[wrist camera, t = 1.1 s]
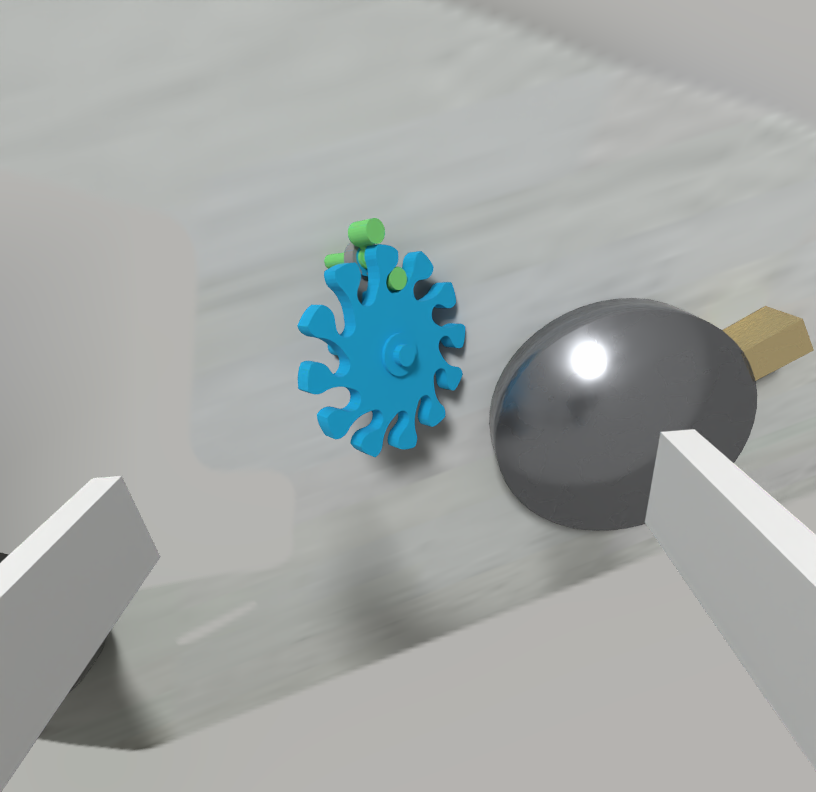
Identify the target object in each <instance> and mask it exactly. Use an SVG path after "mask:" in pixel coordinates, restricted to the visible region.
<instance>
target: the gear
mask: <svg viewBox="0 0 816 792" xmlns="http://www.w3.org/2000/svg"><path fill="white" fill-rule="evenodd" d="M384 236H385V229H384V226H383V224H382V222H381V221H380V220H379V219H377V218H372V219H367V220H362V221H358V222H354V223H352V224H351V225H350V226H349V229H348V237H349V240H350V242H351V243H350V244H348V246H347V247H346V249H345V252H344V253H338V254H331V255H327V256H326V257H325V260H324V262H325V266H326V267H327V268H328V270H326V271H324V278H325V281H326V284H327V285H328V287H329V288H330V289H331V290H332V291H333V292H334V293H335V294H336V296H337V297H338V299H339V301H340V303H341V306H342V309H343V314H344V321H345V328H344V331H343V332H342V333H341V334H340V335H339V334H338V332H337V330H336V325H335V318H334V315H333V313H332V311H331V310H330V309H329V308H328V307H326V306H324V305H311V306H309V307H308V308H307V309H306V311H305V312H304V313H303V315H302V317H301V319H300V321H299V323H298V325H297V326H298V329H299V330H300V332H301V333H303V334H304V335H306V336H310V337H316V338H319V339H321V340H323V341H325V342H326V343H327V344H328V350H329V352H330V353H331V354H333V355H337V356H338V358H339V361H340V365H339V368H338V370H337V371H336V373H334V374H332V372H331V371H330V370H329V368H328V367H327V366H326V365H324V364H322V363H318V362H313V361H304V362H302V363H301V364H300V367H299V372H298V389H300V390H302V391H305V392H308V393H312V394H320V393H323V392H324V391H326V390H328V389H330V388H333V387H346V388H347V389H348V390H349V391H350V395H351V397H350V402H349V404H348V405H347V406H346V407H345V408H342V409H338V408H334V407H325V408H323V409H321V410H320V411H319V412H318V414H317V419H318V422H319V425H320V427H321V429H322V431H323V432H324V434H325V435H326V436H329V437H331V438H334V439H340V438H342V437H343V436H344V435H345V434H346V433H347V432H348V430H349V428H350V427H351V425H352V424H353V423H354V422H355V421H356V420H357V419H358V418H359V417H360V416H361V415H363V414H365V413H367V412H369V411H372V413H373V417H372V421H371V422H370V424H369V425H368V426H366V427H364V428H361V429H359V430H357V431H356V432H355V433H354V434H353V436H352V439H351V445H352V446H353V447H354V448H355V449H357V450H359V451H361V452H363V453H366V454H368V455H371V456H373V457H376V456H377V455H378V454H379V453H380V451H381V449H382V445H383V438H384V434H385V432H386V429H387V427H388V425H389V423H390V422H391V421H392V419H393V418H394V417H395V415H396V414H397V413H398V420H397V422H396V424H395V425H394V426H393V428H392V429H391V430H390V432H389V435H388V444H389V445H391V446H394V447H396V448H399V449H410V448H414V447H415V445H416V443H417V434H416V431H415V413H416V409H417V405H418V402H419V400H420V398H421V403H420V407H419V411H418V420H419V422H420V423H421V424H424V425H427V426H431V427H433V426H435V425H437V424H438V423H439V422H441V421H442V419H443V418H444V417H445V409H444V407H443V406H442V405H441V404H440V402H439V401H438V399H437V397H436V394H435V389H434V374H435V372H436V381H437V385H438V386H439V387H440V388H443V389H448V390H455V389H456V388H457V386H458V384H459V382H460V380H461V377H462V375H463V373H462V371H461V369H460V368H459V367H454V366H451V365H449V364H448V363H447V362H446V361H445V360H444V358H443V357H442V355H441V353H440V351H439V341H440V340H441V342H442V344H443V345H444V346H445V347H452V348H461V347H463V344H464V339H465V326H464V325H463V324H453V323H448V324H445V325H444V326H442V327H441V326H439V325H437V324H436V323H434V321H433V319H432V310H433V308H434V307H435V308H452V307H453V306H454V305H455V304H456V297H455V292H454V288H453V285H452V283H451V282H443V283H435V284H433V286H432V287H431V289H430V290H429V292H428V293H427V294H426V295H425V296H424V297H423V298H421V299H419V300H416V298H415V297H414V293H413V288H414V285H415V283H416V282H417V281H419V280H423V279H427V278H429V277H430V276H431V274H432V272H433V265H432V263H431V261H430V260H429V259H428V257H427V256H426V255H425V254H424V253H423V252H422V251H419V252H410V253H408V254H407V255H406V256H405V258H404V260H403V266H402V268H401V267H396V265H397V263H398V251H397V250H396V249H395V248H393V247H391V246H388V245H382V244H379V243H381V242H382V241H383V239H384ZM375 244H377V245H375ZM389 290H390V291H389Z"/></svg>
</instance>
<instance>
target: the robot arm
mask: <svg viewBox="0 0 816 792" xmlns="http://www.w3.org/2000/svg"><path fill="white" fill-rule="evenodd" d="M645 524H646V525H647V527H648V528H649V530H650V531H651V532H652V534H653V535H654V537H655V538H656V540H657V541H658V543H659V544H660V546H661V547H662V548H663V550H664V551H665V553H666V554H667V556H668V557H669V559H670V560H671V561H672V563H673V565H674V566H675V567H676V569H677V570H678V572H679V573H680V575H681V576H682V578H683V579H684V581H685V582H686V583H687V585H688V586H689V588H690V589H691V591H692V592H693V594H694V595H695V597H696V598H697V599H698V601H699V602H700V604H701V605H702V607H703V608H704V609H705V611H706V612H707V614H708V615H709V617H710V618H711V620H712V621H713V623H714V624H715V626H716V627H717V629H718V630H719V632H720V633H721V634H722V636H723V637H724V639H725V640H726V642H727V643H728V645H729V646H730V647H731V649H732V650H733V652H734V653H735V655H736V656H737V658H738V659H739V661H740V662H741V664H742V665H743V666H744V668H745V669H746V671H747V672H748V674H749V675H750V677H751V678H752V680H753V681H754V682H755V684H756V685H757V687H758V688H759V690H760V691H761V692H762V694H763V696H764V697H765V698H766V700H767V701H768V703H769V704H770V706H771V707H772V708H773V710H774V712H775V713H776V714H777V716H778V717H779V719H780V720H781V722H782V723H783V725H784V726H785V728H786V729H787V730H788V732H789V733H790V735H791V736H792V738H793V739H794V741H795V742H796V744H797V745H798V747H799V748H800V749H801V751H802V752H803V754H804V755H805V757H806V758H807V760H808V761H809V762H810V764H811V765H812V767H813V768H814V770H815V771H816V535H815V534H814V533H813V532H812V531H811V530H810V529H808V528H807V527H806V526H805V525H804V524H803V523H802V522H801V521H799V520H798V519H797V518H796V517H795V516H793V515H792V514H791V513H790V512H789V511H788V510H787V509H786V508H784V507H783V506H782V505H781V504H780V503H779V502H778V501H776V500H775V499H774V498H773V497H772V496H771V495H769V494H768V493H767V492H766V491H765V490H764V489H763V488H761V487H760V486H759V485H758V484H757V483H756V482H754V481H753V480H752V479H751V478H750V477H749V476H748V475H746V474H745V473H744V472H743V471H742V470H741V469H740V468H738V467H737V466H736V465H735V464H734V463H733V462H731V461H730V460H729V459H728V458H727V457H726V456H725V455H723V454H722V453H721V452H720V451H719V450H718V449H716V448H715V447H714V446H713V445H712V444H711V443H710V442H708V441H707V440H706V439H705V438H704V437H703V436H702V435H700V434H699V433H698V432H697V431H696V430H695V429H691V430H679V431H666V432H660V438H659V444H658V449H657V455H656V461H655V467H654V472H653V478H652V484H651V490H650V495H649V501H648V507H647V512H646V518H645ZM159 558H160V555H159V553H158V551H157V549H156V547H155V545H154V543H153V540H152V539H151V536H150V534H149V532H148V530H147V528H146V526H145V524H144V522H143V519H142V518H141V515H140V513H139V511H138V509H137V507H136V505H135V503H134V501H133V499H132V496H131V494H130V492H129V491H128V488H127V486H126V484H125V482H124V480H123V478H122V476H116V477H103V478H92V479H91V480H90V481H89V482H88V483H87V484H86V485H85V486H84V487H82V489H80V490H79V491H78V492H77V493H76V494H75V495H74V496H73V497H72V498H70V499H69V500H68V501H67V502H66V503H65V504H64V505H63V506H62V507H61V508H60V509H58V511H57V512H55V513H54V514H53V515H52V516H51V517H50V518H49V519H48V520H47V521H45V522H44V523H43V524H42V525H41V526H40V527H39V528H38V529H37V530H36V531H35V532H33V533H32V534H31V535H30V536H29V537H28V538H27V539H26V540H25V541H24V542H23V543H21V544H20V545H19V546H18V547H17V548H16V549H15V550H14V551H13V552H12V553H11V554H9V555H8V554H4V553H0V792H2V790H3V788H4V787H5V786H6V784H7V783H8V781H9V779H10V778H11V777H12V775H13V774H14V772H15V771H16V769H17V768H18V766H19V765H20V763H21V762H22V761H23V759H24V758H25V756H26V755H27V753H28V752H29V750H30V748H31V747H32V746H33V744H34V743H35V741H36V740H37V738H38V737H39V735H40V734H41V732H42V731H43V730H44V728H45V727H46V725H47V724H48V722H49V721H50V719H51V718H52V716H53V715H54V713H55V712H56V710H57V709H58V707H59V706H60V704H61V703H62V701H63V700H64V699H65V697H66V696H67V694H68V693H69V692H70V691H72V690H73V689H74V688H75V687H76V686H77V685H78V684H79V683H80V682H81V681H82V679H83V678H84V677H85V675H86V674H87V672H88V671H89V669H90V668H91V666H92V665H93V663H94V662H95V660H96V659H97V657H98V656H99V654H100V653H101V651H102V649H103V645H104V639H105V638H106V637H107V635H108V634H109V632H110V631H111V629H112V628H113V626H114V625H115V623H116V622H117V620H118V619H119V617H120V616H121V614H122V613H123V611H124V610H125V608H126V607H127V606H128V604H129V603H130V601H131V600H132V598H133V597H134V595H135V594H136V592H137V591H138V589H139V588H140V586H141V585H142V583H143V582H144V580H145V579H146V577H147V576H148V574H149V573H150V571H151V570H152V569H153V567H154V566H155V564H156V563H157V561H158V560H159Z"/></svg>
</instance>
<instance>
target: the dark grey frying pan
mask: <svg viewBox="0 0 816 792" xmlns="http://www.w3.org/2000/svg"><path fill="white" fill-rule="evenodd" d="M811 351H813V347H812V344H811V341H810V338H809V335H808V332H807V330H806V327H805V324H804V321H803V319H802V318H799V317H796V316H793V315H790V314H787V313H784V312H781V311H778V310H776V309H773V308H770V307H767V306H765V307H763V308H761V309H759V310H758V311H756V312H754V313H752V314H750V315H749V316H747V317H745V318H743V319H742V320H740V321H738V322H736V323H735V324H733V325H731V326H729V327H728V328H726V329H724V330H721V329H719V328H717V327H716V326H714V325H712V324H711V323H709V322H707V321H705V320H703V319H701V318H698V317H696V316H694V315H692V314H690V313H688V312H686V311H683V310H681V309H679V308H676V307H674V306H671V305H669V304H666V303H662V302H658V301H654V300H648V299H637V298H626V299H613V300H607V301H601V302H596V303H593V304H590V305H586V306H583V307H580V308H578V309H575V310H573V311H571V312H568V313H566V314H564V315H562V316H560V317H559V318H557V319H555V320H553V321H552V322H550V323H548V324H547V325H546V326H544V327H543V328H542V329H540V330H539V331H537V332H536V333H535V334H534V335H533V336H532V337H530V338H529V339H528V340H527V341H526V342H525V343H524V344H523V345H522V346H521V347H520V348H519V350H518V351H517V352H516V353H515V354H514V355H513V357H512V358H511V360H510V361H509V363H508V364H507V366H506V367H505V369H504V370H503V372H502V374H501V376H500V378H499V380H498V382H497V385H496V388H495V391H494V393H493V396H492V401H491V406H490V417H489V426H490V435H491V439H492V443H493V447H494V450H495V453H496V457H497V460H498V463H499V467H500V470H501V472H502V475H503V477H504V479H505V481H506V483H507V485H508V486H509V488H510V489H511V491H512V492H513V494H514V495H515V496H516V497H517V498H518V499H519V500H520V501H521V502H522V503H523V504H524V505H525V506H526V507H528V508H529V509H530V510H531V511H533V512H535V513H536V514H538V515H539V516H541V517H543V518H545V519H547V520H550V521H552V522H554V523H557V524H560V525H564V526H567V527H572V528H577V529H584V530H615V529H624V528H629V527H634V526H638V525H642V524H645V518H646V512H647V507H648V501H649V495H650V490H651V484H652V478H653V472H654V467H655V461H656V455H657V449H658V444H659V438H660V432H666V431H679V430H691V429H695V430H696V431H697V432H698V433H699V434H700V435H702V436H703V437H704V438H705V439H706V440H707V441H708V442H710V443H711V444H712V445H713V446H714V447H715V448H716V449H718V450H719V451H720V452H721V453H722V454H723V455H725V456H726V457H727V458H728V459H729V460H730V461H731V462H733V463H734V462H735V461H736V459H737V458H738V456H739V455H740V453H741V452H742V450H743V448H744V446H745V444H746V442H747V440H748V438H749V435H750V432H751V429H752V427H753V424H754V419H755V414H756V409H757V389H756V380H758V379H760V378H762V377H764V376H766V375H768V374H769V373H771V372H773V371H775V370H777V369H779V368H781V367H783V366H785V365H787V364H789V363H790V362H792V361H794V360H796V359H798V358H800V357H802V356H804V355H806V354H808V353H809V352H811Z"/></svg>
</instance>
